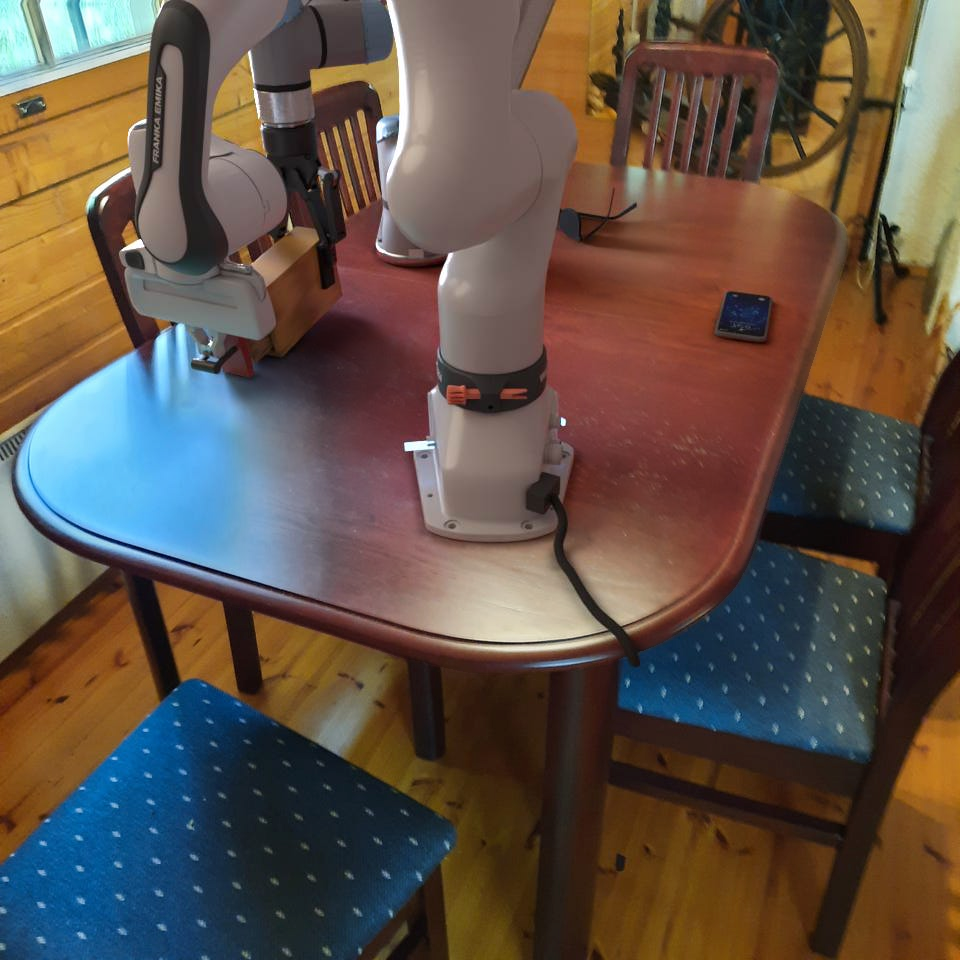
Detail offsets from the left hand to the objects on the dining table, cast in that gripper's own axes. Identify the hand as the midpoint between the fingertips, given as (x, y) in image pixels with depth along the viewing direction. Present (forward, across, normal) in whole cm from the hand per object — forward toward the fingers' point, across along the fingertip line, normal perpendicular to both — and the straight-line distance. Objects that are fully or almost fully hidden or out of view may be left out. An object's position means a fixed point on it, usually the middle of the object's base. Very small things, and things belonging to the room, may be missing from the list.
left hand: (309, 282), depth 129 cm
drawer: (+5, 0, +15) cm, 15 cm away
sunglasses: (+4, -29, -52) cm, 59 cm away
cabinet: (+4, 0, +5) cm, 6 cm away
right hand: (+1, +1, +23) cm, 23 cm away
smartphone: (+5, -62, -21) cm, 65 cm away
